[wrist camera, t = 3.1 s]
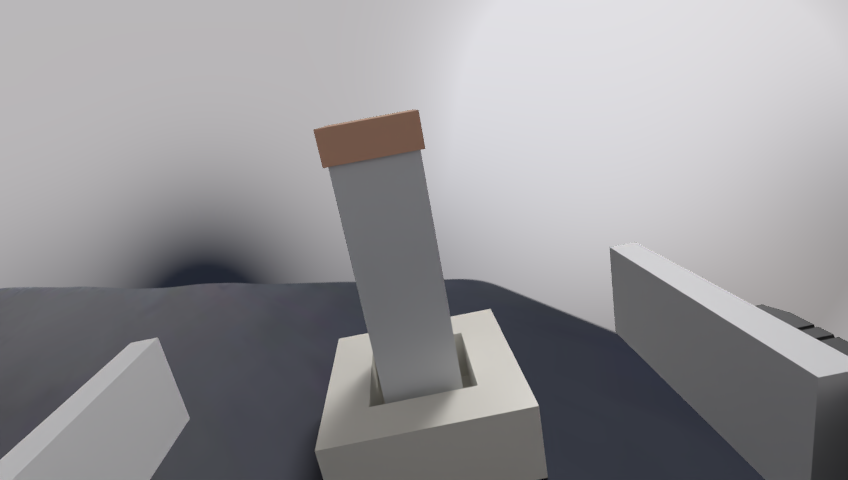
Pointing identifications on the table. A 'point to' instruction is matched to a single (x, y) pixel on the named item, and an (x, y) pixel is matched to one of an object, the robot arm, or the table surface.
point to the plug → (393, 251)
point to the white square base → (433, 417)
